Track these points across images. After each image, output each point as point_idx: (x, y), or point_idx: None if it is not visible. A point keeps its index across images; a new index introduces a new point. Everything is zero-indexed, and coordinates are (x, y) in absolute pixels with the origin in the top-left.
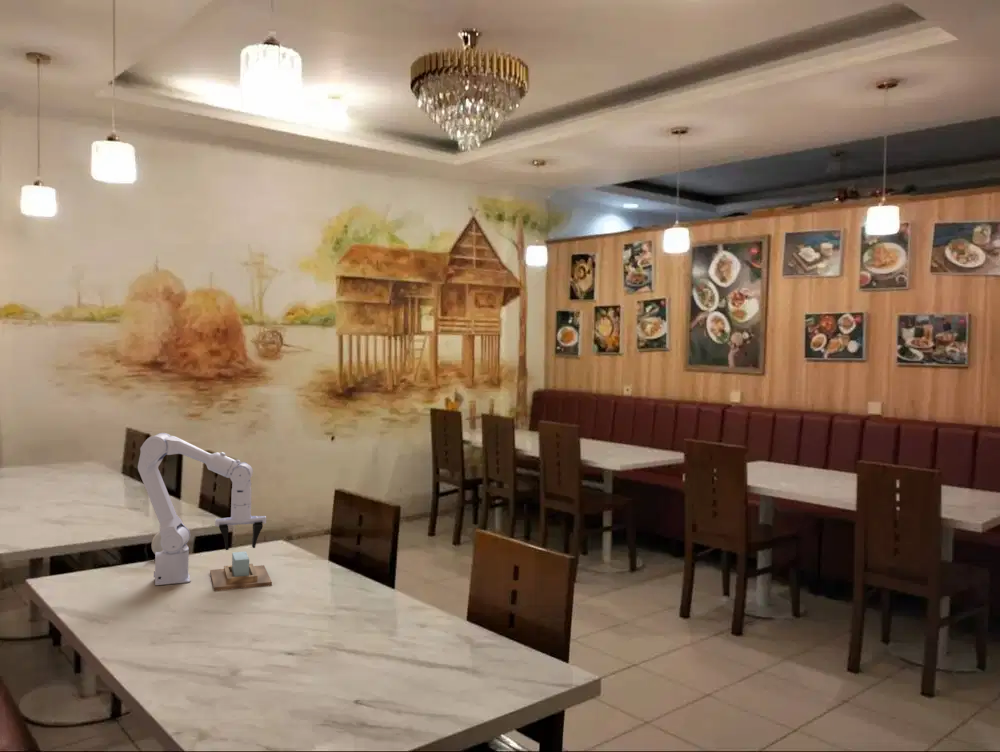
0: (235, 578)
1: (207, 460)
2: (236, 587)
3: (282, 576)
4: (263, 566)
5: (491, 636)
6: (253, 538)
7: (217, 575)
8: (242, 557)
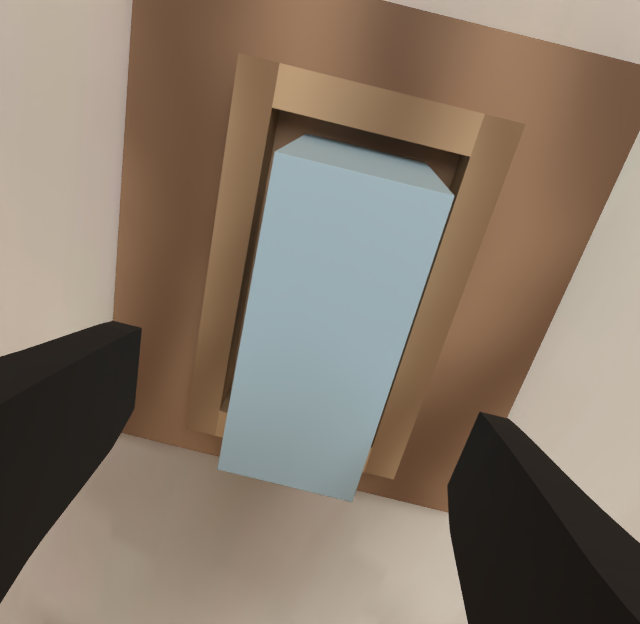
0: None
1: None
2: None
3: (625, 379)
4: (634, 116)
5: None
6: (487, 597)
7: (169, 177)
8: (314, 419)
